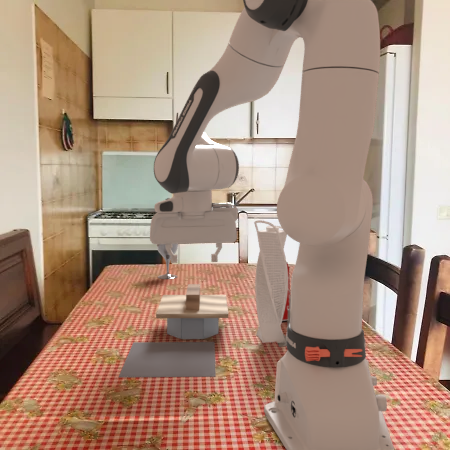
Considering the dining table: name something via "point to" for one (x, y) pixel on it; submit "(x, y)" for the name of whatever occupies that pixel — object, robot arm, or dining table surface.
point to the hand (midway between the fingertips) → (194, 262)
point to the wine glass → (167, 259)
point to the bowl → (192, 327)
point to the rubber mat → (170, 360)
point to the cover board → (205, 307)
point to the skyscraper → (271, 284)
